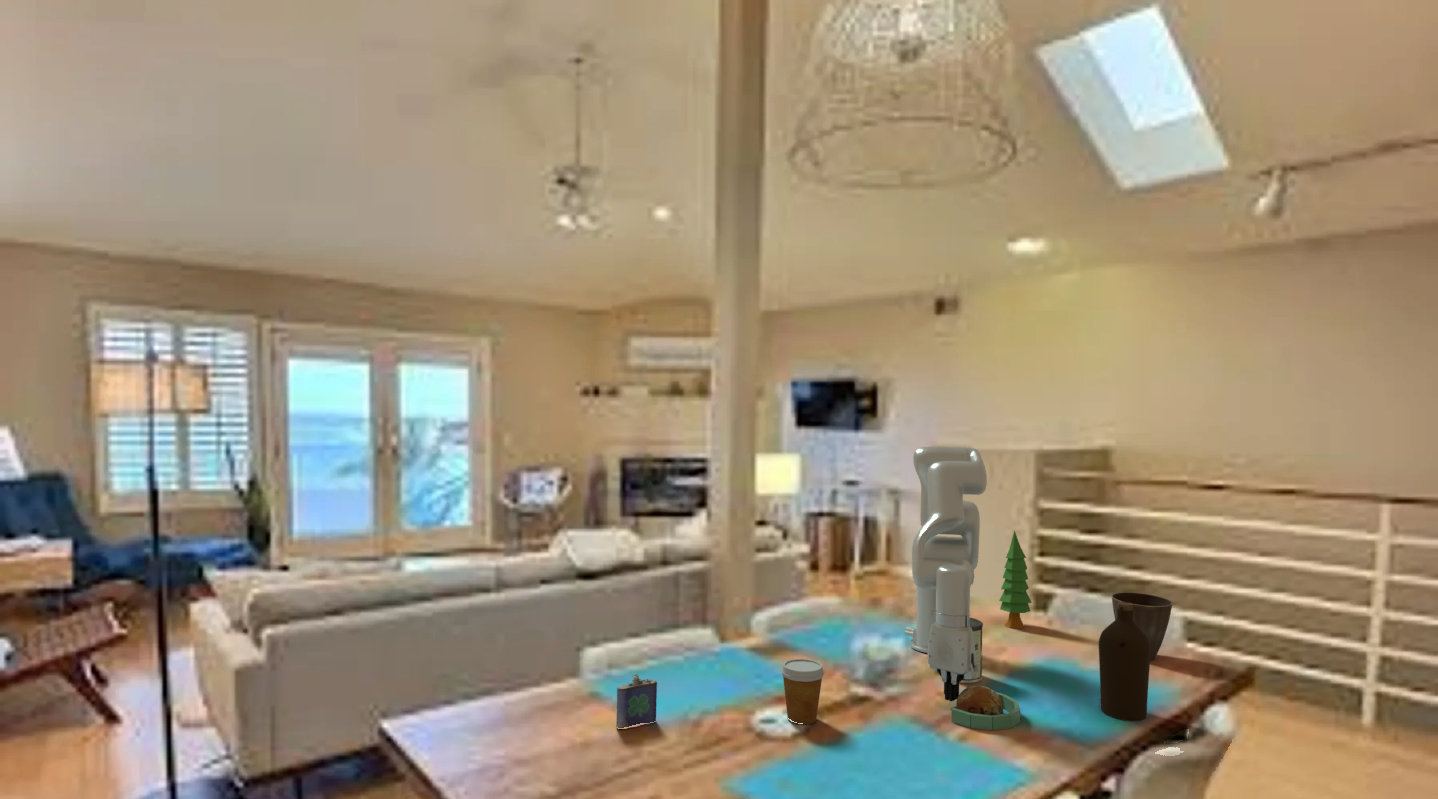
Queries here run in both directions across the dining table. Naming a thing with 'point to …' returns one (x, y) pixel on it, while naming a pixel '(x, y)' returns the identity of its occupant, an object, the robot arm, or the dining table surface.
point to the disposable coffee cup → (802, 689)
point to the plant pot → (1147, 615)
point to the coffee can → (976, 650)
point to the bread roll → (980, 701)
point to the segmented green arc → (990, 716)
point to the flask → (636, 702)
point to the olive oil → (1124, 667)
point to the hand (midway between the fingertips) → (951, 699)
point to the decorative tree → (1015, 585)
